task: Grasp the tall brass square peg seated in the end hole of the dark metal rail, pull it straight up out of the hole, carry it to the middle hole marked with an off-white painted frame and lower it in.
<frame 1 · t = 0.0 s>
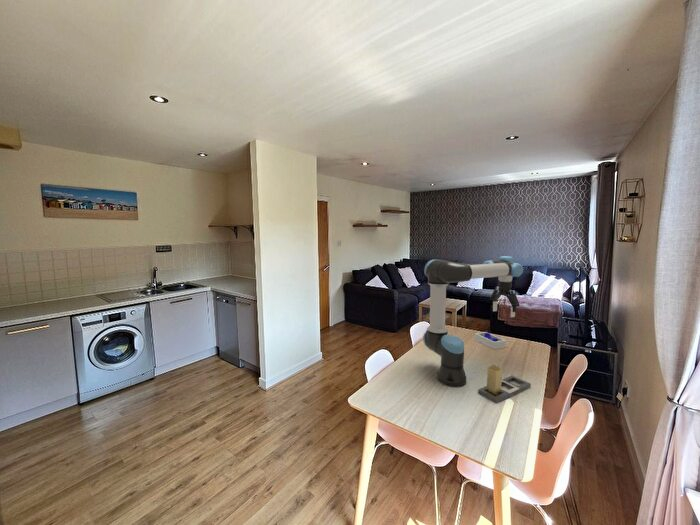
hand: (503, 313, 185), 28 cm above the table, fingers open, 13 cm apart
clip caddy: (489, 343, 208), on the table
brass peg: (493, 395, 144), resting in rail
blue arch block: (489, 344, 208), resting in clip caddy
rail: (504, 390, 148), on the table
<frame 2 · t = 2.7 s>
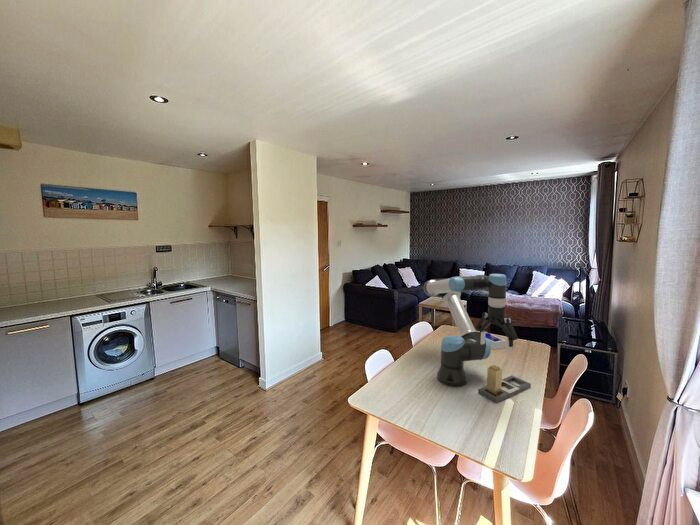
hand: (495, 348, 143), 24 cm above the table, fingers open, 13 cm apart
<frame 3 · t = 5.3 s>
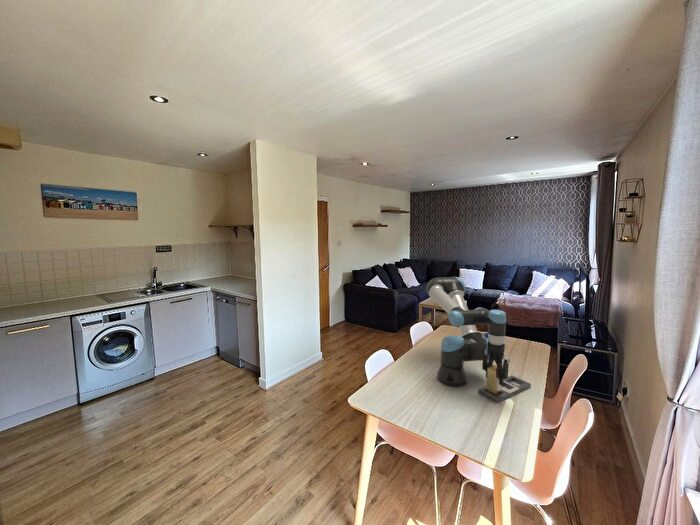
hand: (493, 387, 144), 4 cm above the table, fingers closed on brass peg, 5 cm apart
brass peg: (493, 395, 144), resting in rail, touching gripper
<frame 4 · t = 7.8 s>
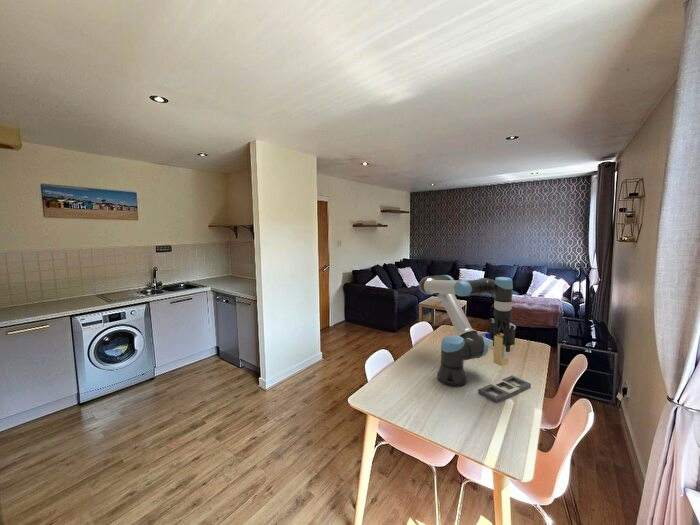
hand: (501, 355, 143), 20 cm above the table, fingers closed on brass peg, 5 cm apart
brass peg: (500, 363, 144), point 16 cm above the table, touching gripper
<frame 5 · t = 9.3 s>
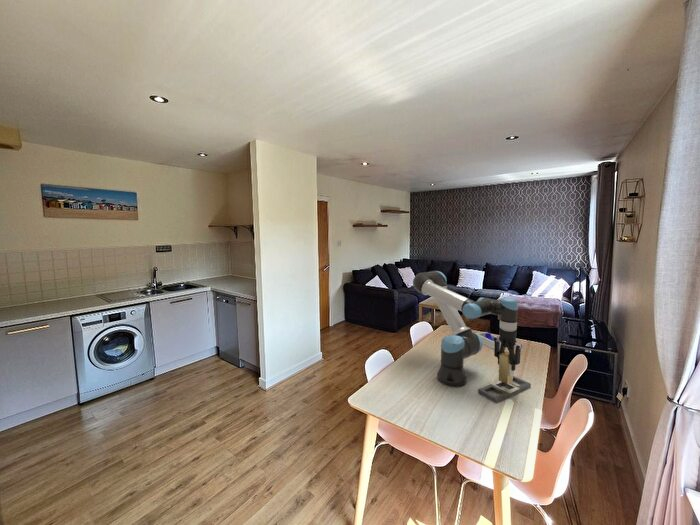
hand: (506, 373, 147), 9 cm above the table, fingers closed on brass peg, 5 cm apart
brass peg: (505, 381, 148), point 5 cm above the table, touching gripper
when the fingers open (5 cm above the table, at t = 10.7 s): brass peg stays where it is, resting in rail.
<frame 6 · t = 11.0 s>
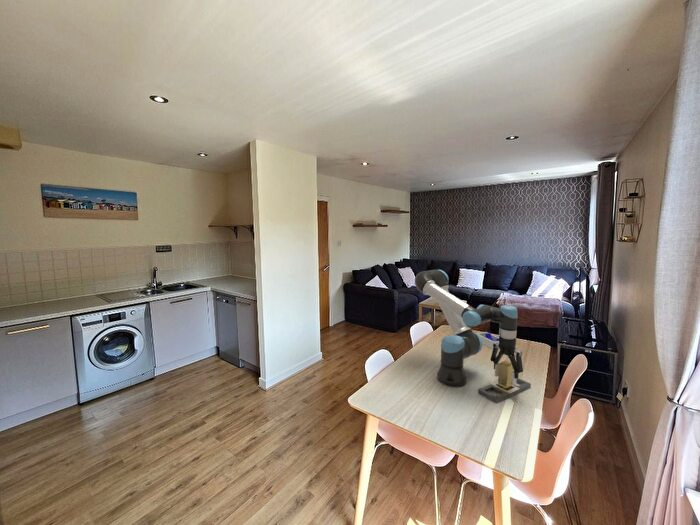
hand: (505, 379, 148), 6 cm above the table, fingers open, 8 cm apart
brass peg: (504, 390, 149), resting in rail
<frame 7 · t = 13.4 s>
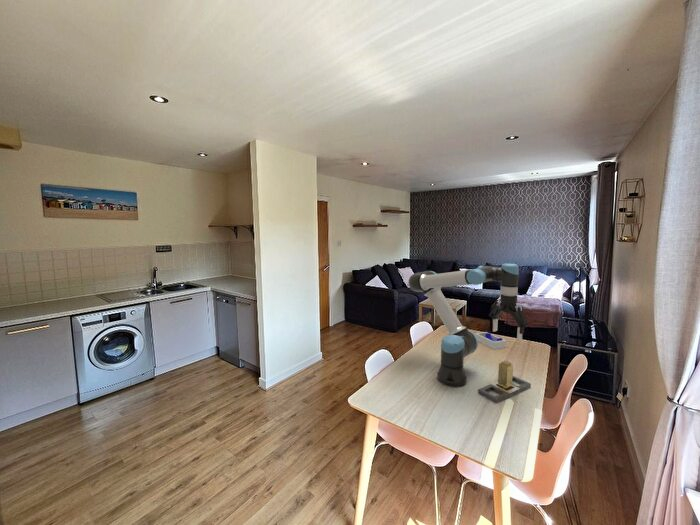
hand: (506, 335, 149), 28 cm above the table, fingers open, 13 cm apart
blue arch block: (492, 344, 208), resting in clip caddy
everything else where it was.
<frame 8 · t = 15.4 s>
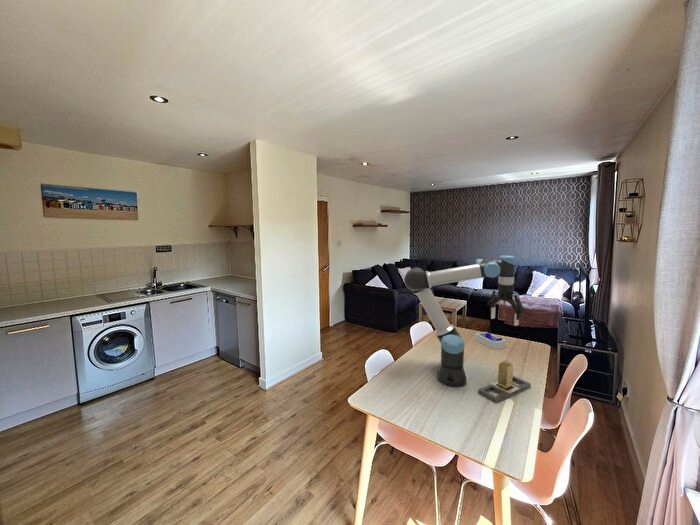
hand: (504, 321, 161), 31 cm above the table, fingers open, 13 cm apart
blue arch block: (492, 344, 208), resting in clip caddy
everything else where it was.
at the end: brass peg 0.0 cm off-centre on the rail, point 0.0 cm above the rail's base; brass peg tilted 0°; the gripper is holding nothing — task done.
